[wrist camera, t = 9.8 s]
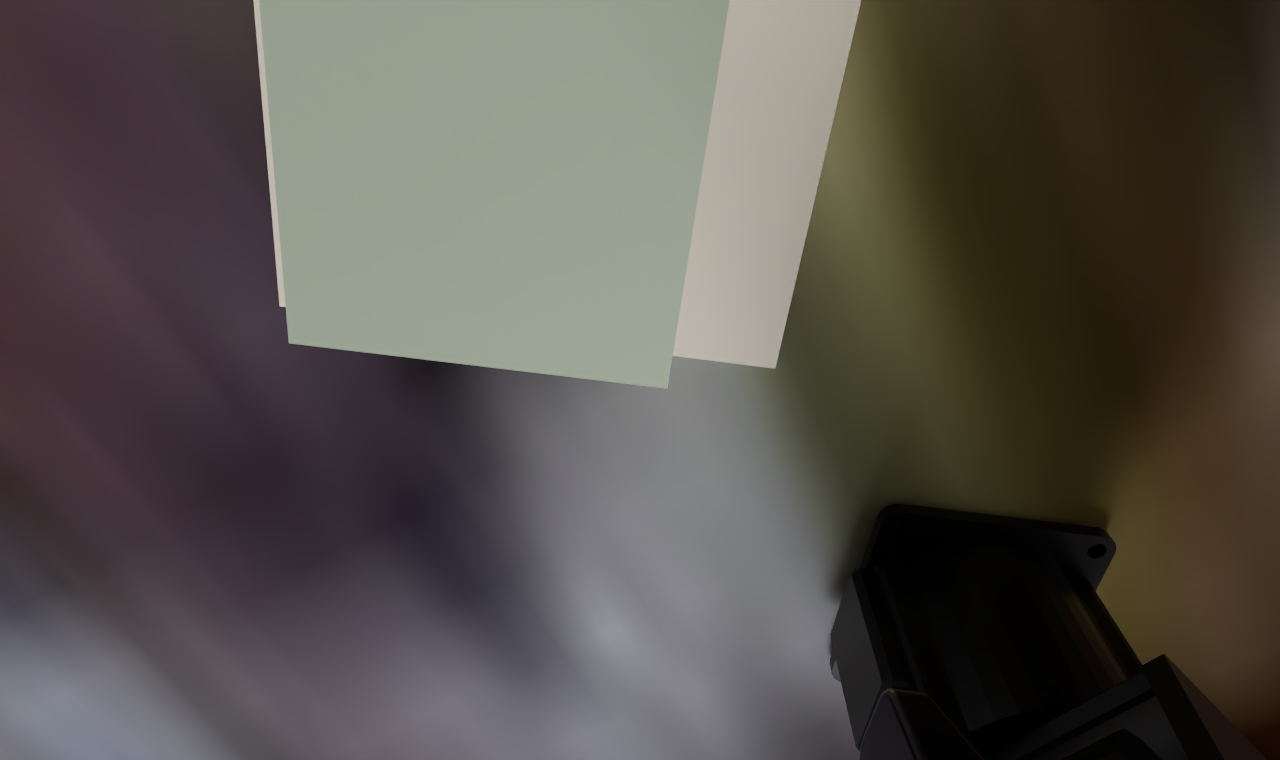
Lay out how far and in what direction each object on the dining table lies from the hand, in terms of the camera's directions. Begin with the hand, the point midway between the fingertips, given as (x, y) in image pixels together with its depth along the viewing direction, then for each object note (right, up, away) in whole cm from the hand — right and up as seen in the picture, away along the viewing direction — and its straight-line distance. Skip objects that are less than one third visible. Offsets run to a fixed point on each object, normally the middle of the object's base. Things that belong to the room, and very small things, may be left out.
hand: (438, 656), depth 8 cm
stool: (0, +9, +9) cm, 13 cm away
